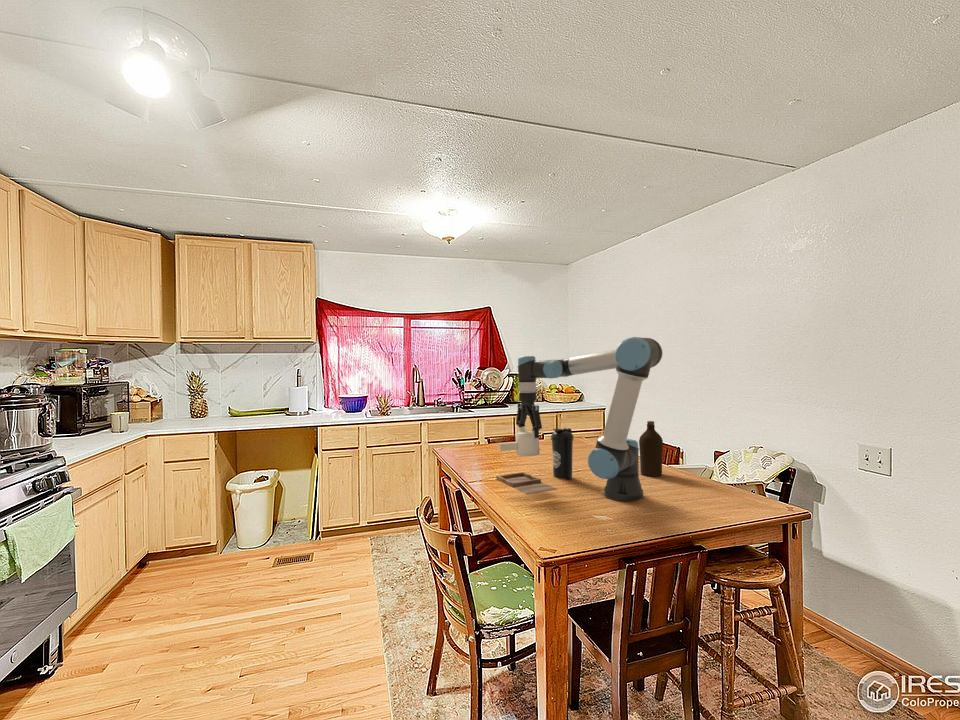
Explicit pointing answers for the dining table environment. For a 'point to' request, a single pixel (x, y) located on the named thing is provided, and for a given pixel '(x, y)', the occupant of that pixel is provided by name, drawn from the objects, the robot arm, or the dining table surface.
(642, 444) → the olive oil
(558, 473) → the water bottle
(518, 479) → the brown flat rectangular tray
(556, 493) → the dining table surface
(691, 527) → the dining table surface
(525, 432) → the white pot with handle
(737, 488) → the dining table surface
